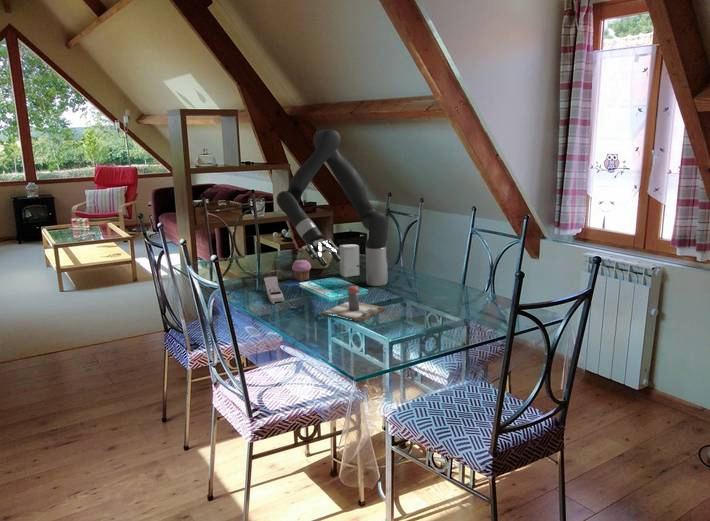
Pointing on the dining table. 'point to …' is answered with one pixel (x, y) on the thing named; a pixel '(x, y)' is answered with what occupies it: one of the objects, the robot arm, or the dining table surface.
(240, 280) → the dining table surface
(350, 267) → the skincare box
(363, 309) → the clipboard
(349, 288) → the grey and red cylinder
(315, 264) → the planter bowl
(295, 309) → the dining table surface
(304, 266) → the cupcake
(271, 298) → the mobile phone
